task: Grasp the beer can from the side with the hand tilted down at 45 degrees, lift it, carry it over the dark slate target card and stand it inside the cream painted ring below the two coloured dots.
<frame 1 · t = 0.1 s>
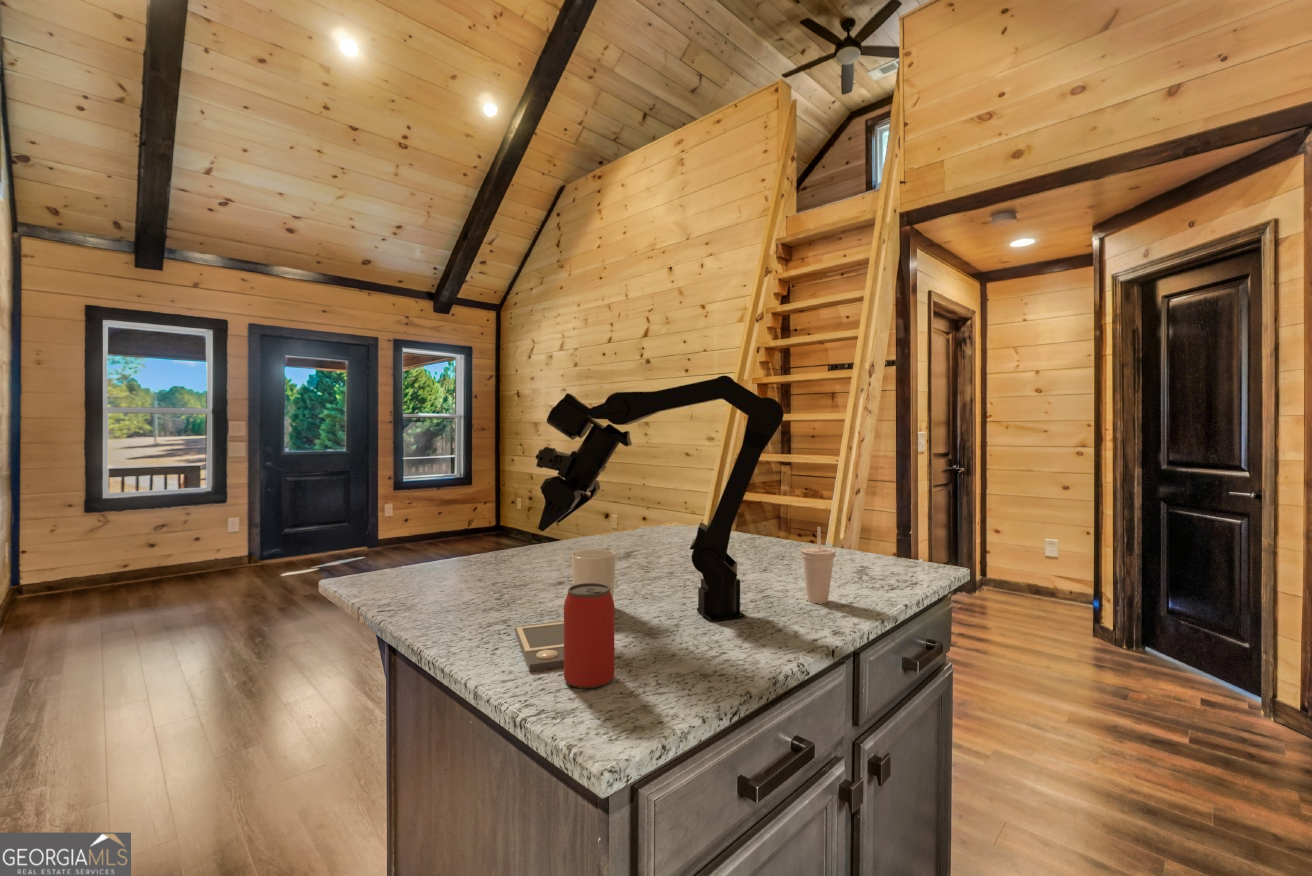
hand: (548, 525, 108), 15 cm above the counter, tool tilted 35°, fingers open, 9 cm apart
slate card: (555, 646, 89), on the counter
smoothie: (817, 602, 112), on the counter
white cup: (593, 609, 107), on the counter
beer can: (589, 681, 77), on the counter
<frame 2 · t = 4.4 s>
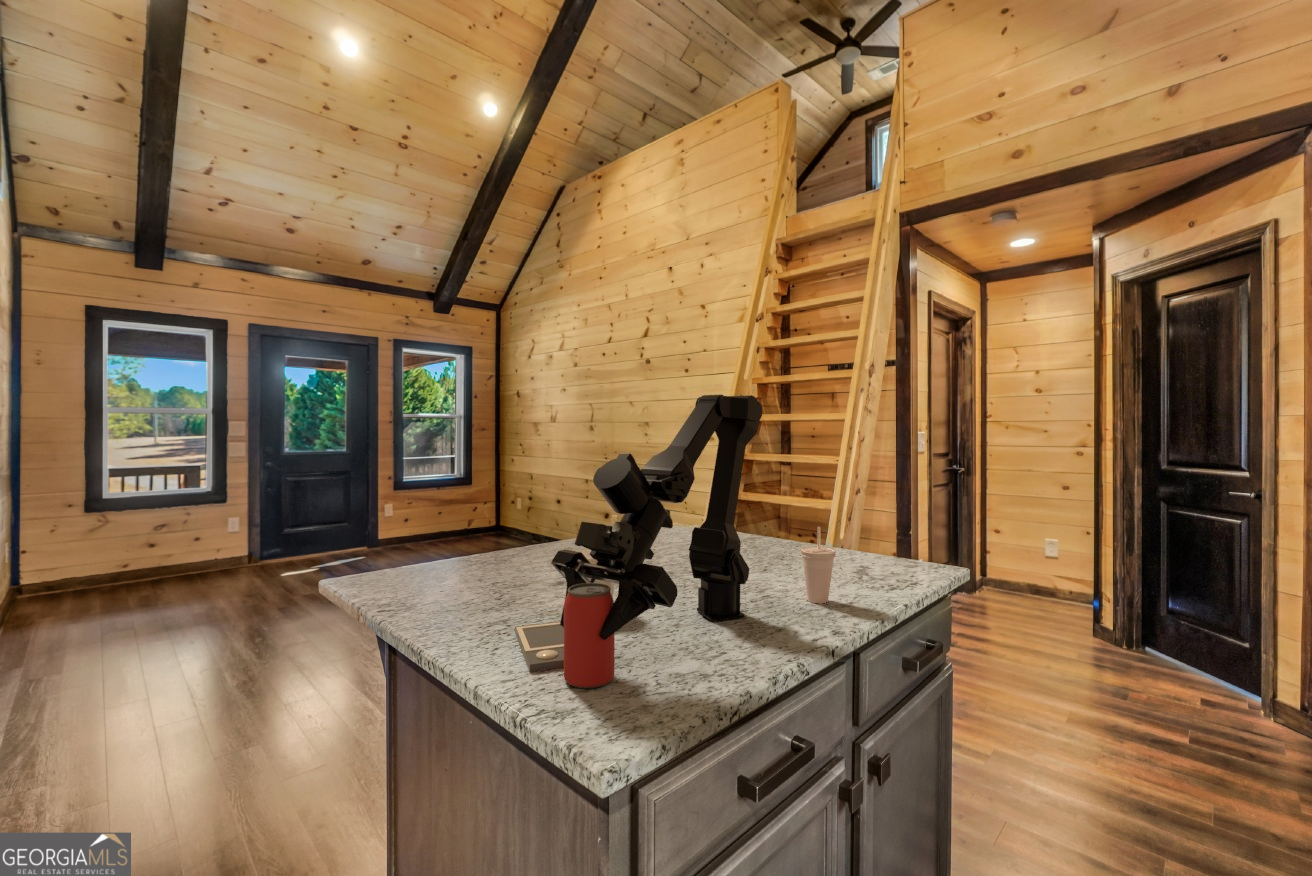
hand: (581, 632, 76), 7 cm above the counter, tool tilted 45°, fingers closed on beer can, 7 cm apart
beer can: (589, 680, 77), on the counter, touching gripper
everything else where it was.
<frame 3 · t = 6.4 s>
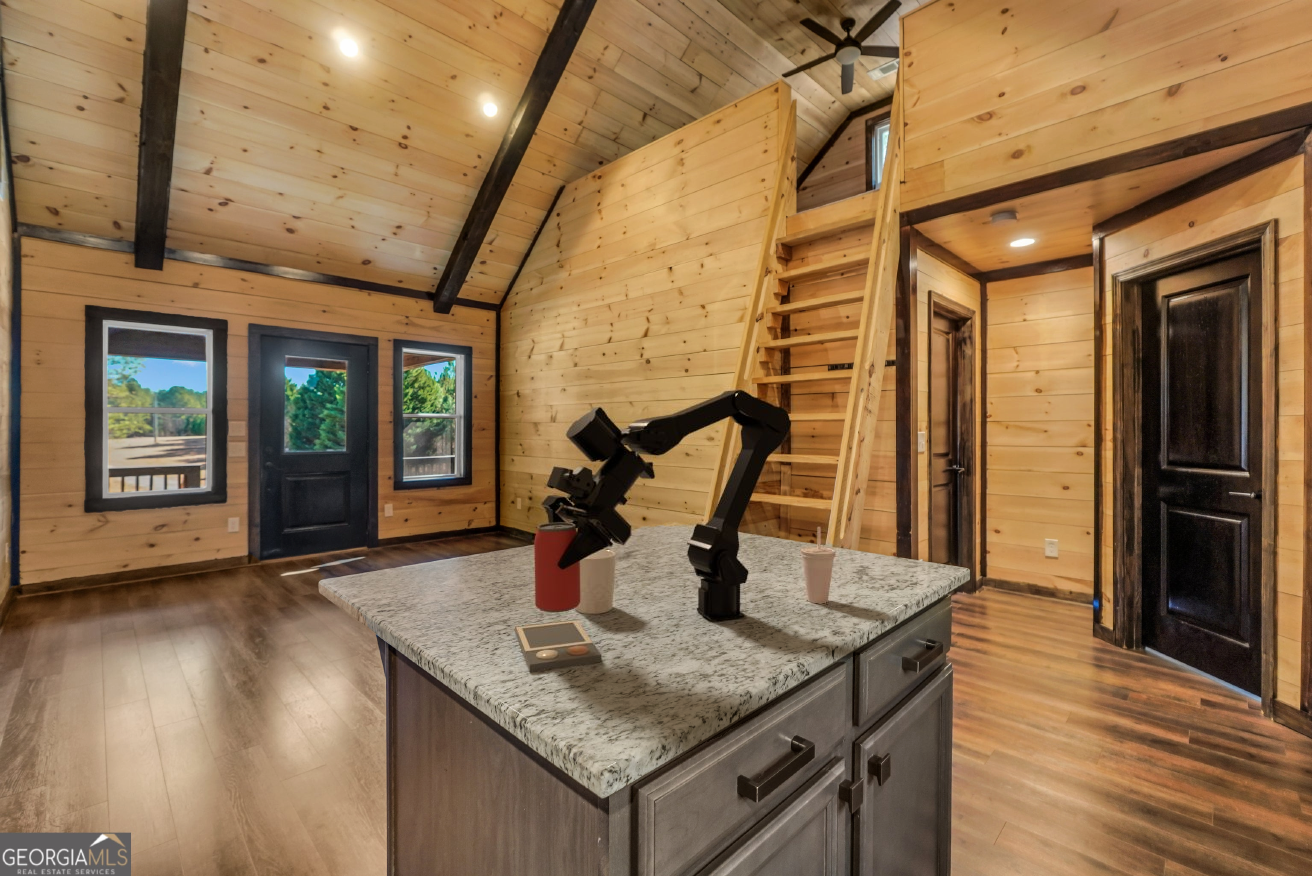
hand: (548, 563, 86), 13 cm above the counter, tool tilted 45°, fingers closed on beer can, 7 cm apart
beer can: (558, 607, 87), point 6 cm above the counter, touching gripper
everything else where it was.
when the fingers open (8 cm above the counter, at t = 8.4 s): beer can stays where it is, resting on slate card.
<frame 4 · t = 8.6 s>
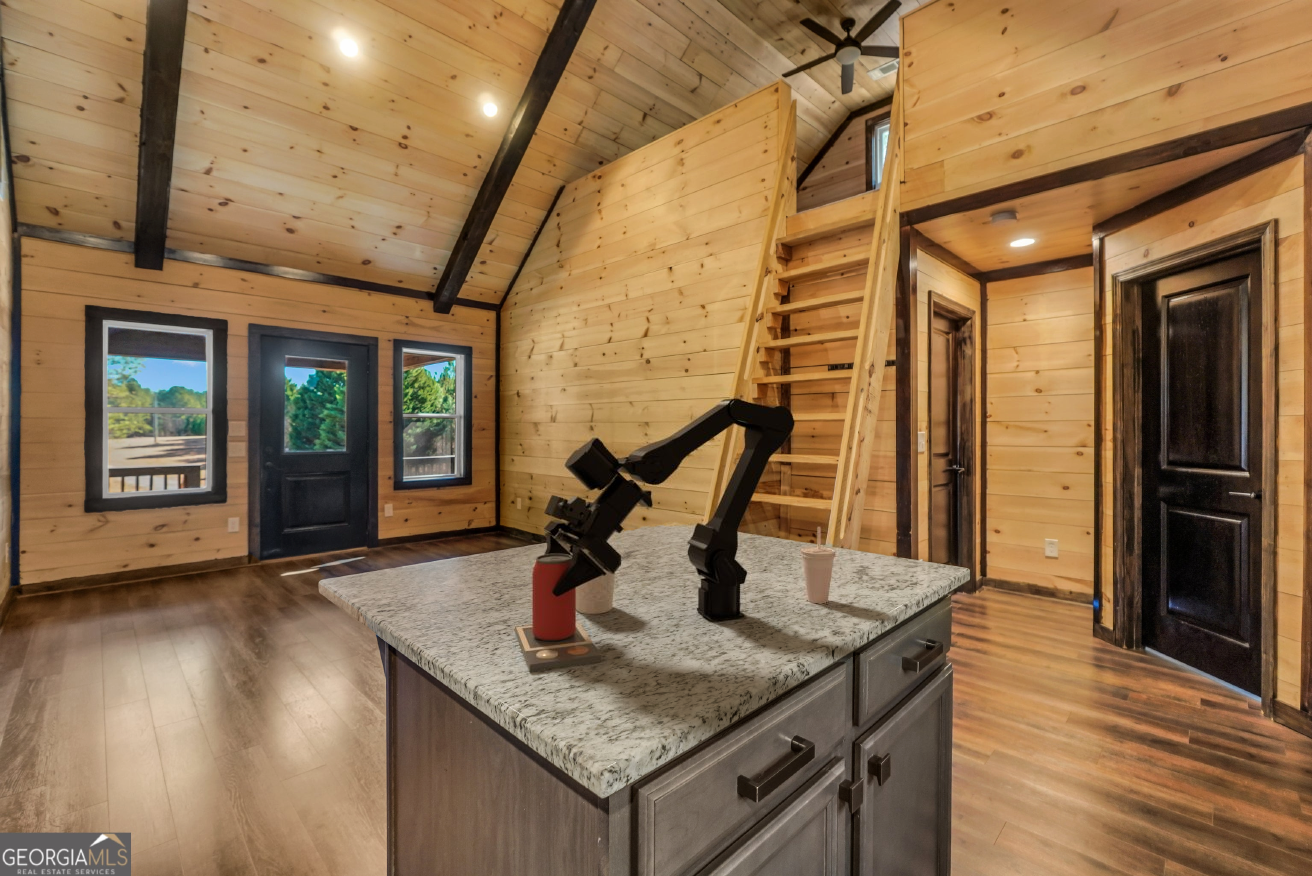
hand: (544, 587, 90), 9 cm above the counter, tool tilted 45°, fingers open, 8 cm apart
beer can: (554, 636, 91), point 1 cm above the counter, touching slate card
everything else where it was.
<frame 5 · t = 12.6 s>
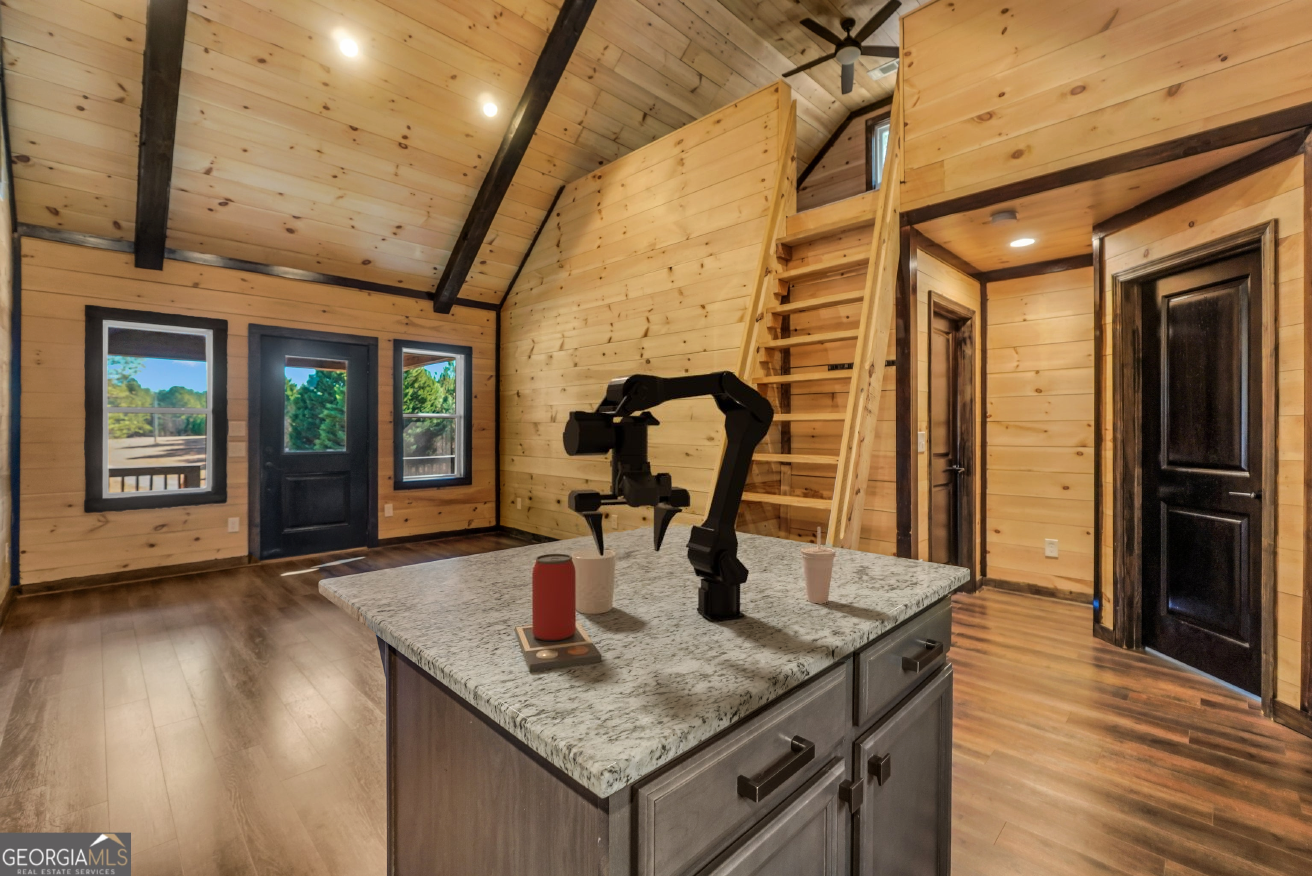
hand: (629, 553, 94), 13 cm above the counter, tool pointing down, fingers open, 9 cm apart
nothing on the counter moved.
at the end: beer can inside the target area (0.2 cm from its centre), point 0.8 cm above the counter; beer can tilted 0°; the gripper is holding nothing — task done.
